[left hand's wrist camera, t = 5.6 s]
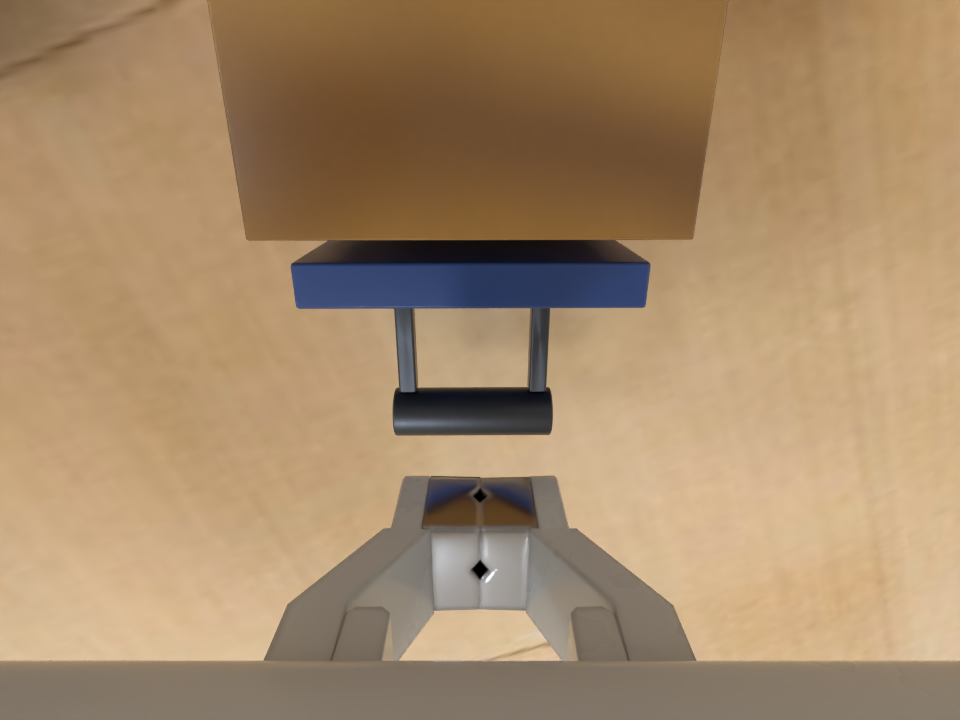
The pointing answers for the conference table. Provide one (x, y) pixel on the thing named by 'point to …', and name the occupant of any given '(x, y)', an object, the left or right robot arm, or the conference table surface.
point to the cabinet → (468, 116)
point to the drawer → (471, 284)
